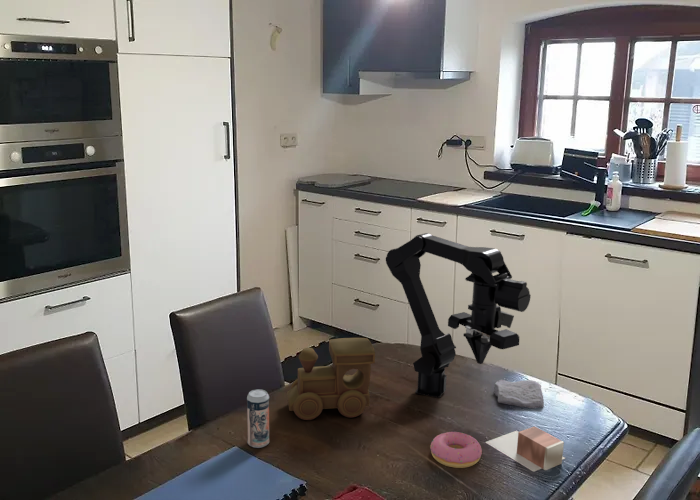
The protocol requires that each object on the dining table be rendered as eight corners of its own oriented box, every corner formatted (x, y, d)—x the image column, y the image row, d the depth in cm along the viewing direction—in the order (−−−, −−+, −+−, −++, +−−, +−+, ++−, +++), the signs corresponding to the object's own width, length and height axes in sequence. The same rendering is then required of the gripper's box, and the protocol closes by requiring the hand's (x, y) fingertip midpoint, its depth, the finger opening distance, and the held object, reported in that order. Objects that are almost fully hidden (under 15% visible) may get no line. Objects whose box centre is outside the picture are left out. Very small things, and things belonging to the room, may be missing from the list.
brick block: (518, 432, 148) (547, 448, 142) (534, 426, 151) (563, 442, 144) (516, 453, 149) (545, 470, 143) (532, 446, 152) (561, 463, 146)
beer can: (251, 451, 148) (251, 399, 145) (244, 441, 152) (243, 390, 149) (272, 446, 150) (272, 395, 148) (264, 436, 154) (264, 386, 152)
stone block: (545, 416, 171) (538, 392, 180) (547, 401, 169) (540, 376, 178) (497, 415, 172) (492, 391, 181) (498, 399, 170) (493, 375, 179)
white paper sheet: (484, 443, 154) (485, 442, 154) (516, 431, 159) (516, 430, 159) (533, 472, 142) (533, 471, 142) (565, 459, 148) (565, 458, 148)
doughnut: (491, 459, 147) (493, 442, 146) (458, 478, 140) (459, 459, 139) (452, 439, 155) (453, 422, 154) (419, 456, 148) (419, 438, 147)
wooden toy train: (365, 397, 175) (367, 335, 171) (374, 418, 164) (376, 353, 160) (286, 401, 171) (286, 338, 168) (290, 423, 161) (290, 356, 157)
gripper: (538, 307, 160) (532, 369, 164) (481, 286, 175) (477, 344, 179) (504, 315, 154) (499, 380, 158) (448, 293, 169) (444, 353, 173)
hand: (480, 363), depth 167 cm, fingers closed
